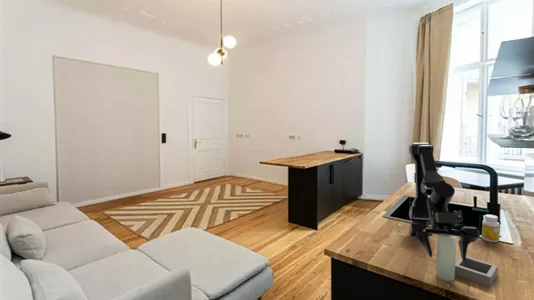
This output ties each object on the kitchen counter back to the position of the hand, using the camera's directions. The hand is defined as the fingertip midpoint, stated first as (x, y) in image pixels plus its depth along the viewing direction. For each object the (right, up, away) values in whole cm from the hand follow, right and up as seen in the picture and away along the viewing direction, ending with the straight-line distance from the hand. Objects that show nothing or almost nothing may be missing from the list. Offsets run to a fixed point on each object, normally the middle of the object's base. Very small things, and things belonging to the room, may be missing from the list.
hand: (447, 258), depth 83 cm
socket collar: (+10, -6, +3) cm, 12 cm away
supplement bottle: (+35, -3, +27) cm, 44 cm away
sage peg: (+1, -6, +2) cm, 7 cm away
